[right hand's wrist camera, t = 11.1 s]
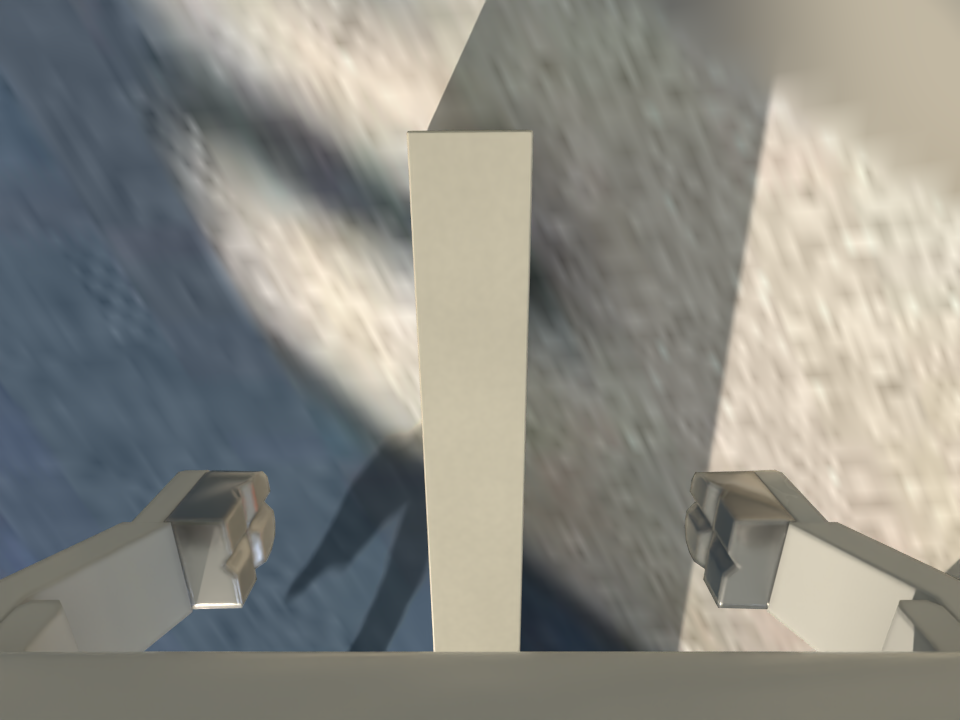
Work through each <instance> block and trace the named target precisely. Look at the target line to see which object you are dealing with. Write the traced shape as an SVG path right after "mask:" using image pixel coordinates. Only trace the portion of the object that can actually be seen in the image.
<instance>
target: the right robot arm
mask: <svg viewBox="0 0 960 720" xmlns="http://www.w3.org/2000/svg"><path fill="white" fill-rule="evenodd" d="M269 492H270V488H269V483H268V478H267V476H266V475H265V474H264V473H263V472H262V471H215V470H212V471H209V470H185V471H181V472H178V473H177V474H176V475H175V476H174V478H173V479H172V480H171V481H170V482H169V483H168V484H167V485H166V486H165V487H164V488H163V489H162V490H161V491H160V492H159V493H158V495H157V496H156V497H155V498H154V499H153V500H152V501H151V502H150V503H149V504H148V505H147V506H146V507H145V508H144V509H143V510H142V512H141V513H140V514H139V515H138V516H137V517H136V518H135V519H134V520H133V521H132V522H122V523H120V524H118V525H116V526H114V527H112V528H109V529H107V530H105V531H103V532H101V533H99V534H97V535H95V536H92V537H90V538H88V539H86V540H84V541H82V542H80V543H78V544H75V545H73V546H71V547H69V548H67V549H65V550H63V551H61V552H58V553H56V554H54V555H52V556H50V557H48V558H46V559H44V560H41V561H39V562H37V563H35V564H33V565H31V566H29V567H26V568H24V569H22V570H20V571H18V572H16V573H14V574H12V575H9V576H7V577H5V578H3V579H1V580H0V720H960V580H959V579H957V578H954V577H952V576H950V575H948V574H946V573H944V572H942V571H940V570H937V569H935V568H933V567H931V566H929V565H927V564H925V563H923V562H921V561H918V560H916V559H914V558H912V557H910V556H908V555H906V554H904V553H901V552H899V551H897V550H895V549H893V548H891V547H889V546H887V545H884V544H882V543H880V542H878V541H876V540H874V539H872V538H870V537H867V536H865V535H863V534H861V533H859V532H857V531H855V530H853V529H850V528H848V527H846V526H844V525H842V524H840V523H838V522H828V521H827V520H826V519H825V518H824V517H823V516H822V515H821V514H820V513H819V511H818V510H817V509H816V508H815V507H814V506H813V505H812V504H811V503H810V502H809V501H808V500H807V499H806V498H805V497H804V496H803V494H802V493H801V492H800V491H799V490H798V489H797V488H796V487H795V486H794V485H793V484H792V483H791V482H790V481H789V480H788V479H787V477H786V476H785V475H784V474H783V473H781V472H779V471H777V470H758V471H731V472H695V474H694V476H693V478H692V482H691V487H690V492H691V494H692V496H693V497H694V499H695V501H696V502H695V503H694V504H693V505H692V506H691V507H690V508H689V509H688V510H687V511H686V519H685V536H686V543H687V546H688V549H689V552H690V554H691V556H692V558H693V560H694V562H696V563H697V564H699V565H700V566H702V567H703V568H705V573H704V578H703V580H704V582H705V583H706V585H707V587H708V589H709V591H710V593H711V595H712V597H713V599H714V601H715V602H716V604H717V606H718V608H746V609H768V610H767V611H768V612H769V613H770V614H771V615H772V616H774V617H775V618H776V619H777V620H779V621H780V622H781V623H782V624H784V625H785V626H786V627H787V628H789V629H790V630H791V631H792V632H793V633H795V634H796V635H797V636H798V637H800V638H801V639H802V640H803V641H805V642H806V643H807V644H808V645H809V646H811V647H812V648H813V649H814V650H816V651H817V652H143V651H145V650H146V649H147V648H148V647H149V646H151V645H152V644H153V643H154V642H156V641H157V640H158V639H159V638H161V637H162V636H163V635H164V634H166V633H167V632H168V631H169V630H170V629H172V628H173V627H174V626H175V625H177V624H178V623H179V622H180V621H182V620H183V619H184V618H185V617H187V616H188V615H189V614H190V613H191V612H192V609H213V608H242V606H243V604H244V602H245V601H246V599H247V597H248V595H249V593H250V591H251V589H252V587H253V585H254V583H255V582H256V580H257V578H256V573H255V568H257V567H258V566H260V565H261V564H263V563H264V562H266V560H267V558H268V556H269V554H270V552H271V550H272V546H273V541H274V537H275V518H274V511H273V510H272V509H271V508H270V507H269V506H268V505H267V504H266V503H265V502H264V501H265V499H266V497H267V496H268V494H269Z"/></svg>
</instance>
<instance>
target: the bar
mask: <svg viewBox="0 0 960 720" xmlns="http://www.w3.org/2000/svg"><path fill="white" fill-rule="evenodd" d="M407 147H408V166H409V185H410V204H411V223H412V243H413V262H414V281H415V300H416V320H417V339H418V358H419V377H420V396H421V416H422V435H423V454H424V473H425V493H426V512H427V531H428V550H429V569H430V589H431V608H432V627H433V646H434V652H520V635H521V596H522V557H523V518H524V479H525V440H526V401H527V362H528V323H529V284H530V245H531V205H532V166H533V131H532V130H459V131H408V132H407Z"/></svg>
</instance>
